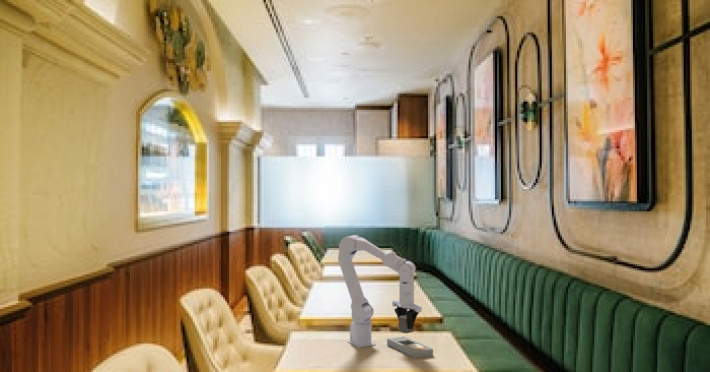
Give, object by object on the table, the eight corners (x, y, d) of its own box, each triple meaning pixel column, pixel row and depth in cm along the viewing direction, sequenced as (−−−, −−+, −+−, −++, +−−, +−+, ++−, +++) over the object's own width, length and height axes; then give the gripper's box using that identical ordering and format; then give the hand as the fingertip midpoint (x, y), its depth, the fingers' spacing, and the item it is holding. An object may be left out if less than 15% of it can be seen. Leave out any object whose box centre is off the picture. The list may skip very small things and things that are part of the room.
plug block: (398, 331, 208) (398, 315, 208) (406, 329, 211) (406, 314, 211) (405, 333, 205) (405, 317, 205) (413, 331, 208) (413, 316, 208)
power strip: (387, 345, 213) (387, 337, 213) (403, 342, 217) (403, 335, 217) (415, 358, 195) (415, 350, 196) (433, 355, 199) (433, 347, 199)
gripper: (386, 291, 212) (386, 325, 211) (412, 296, 200) (412, 332, 200) (399, 289, 216) (399, 322, 216) (425, 294, 205) (425, 330, 204)
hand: (406, 327), depth 208 cm, fingers closed on plug block, 4 cm apart
